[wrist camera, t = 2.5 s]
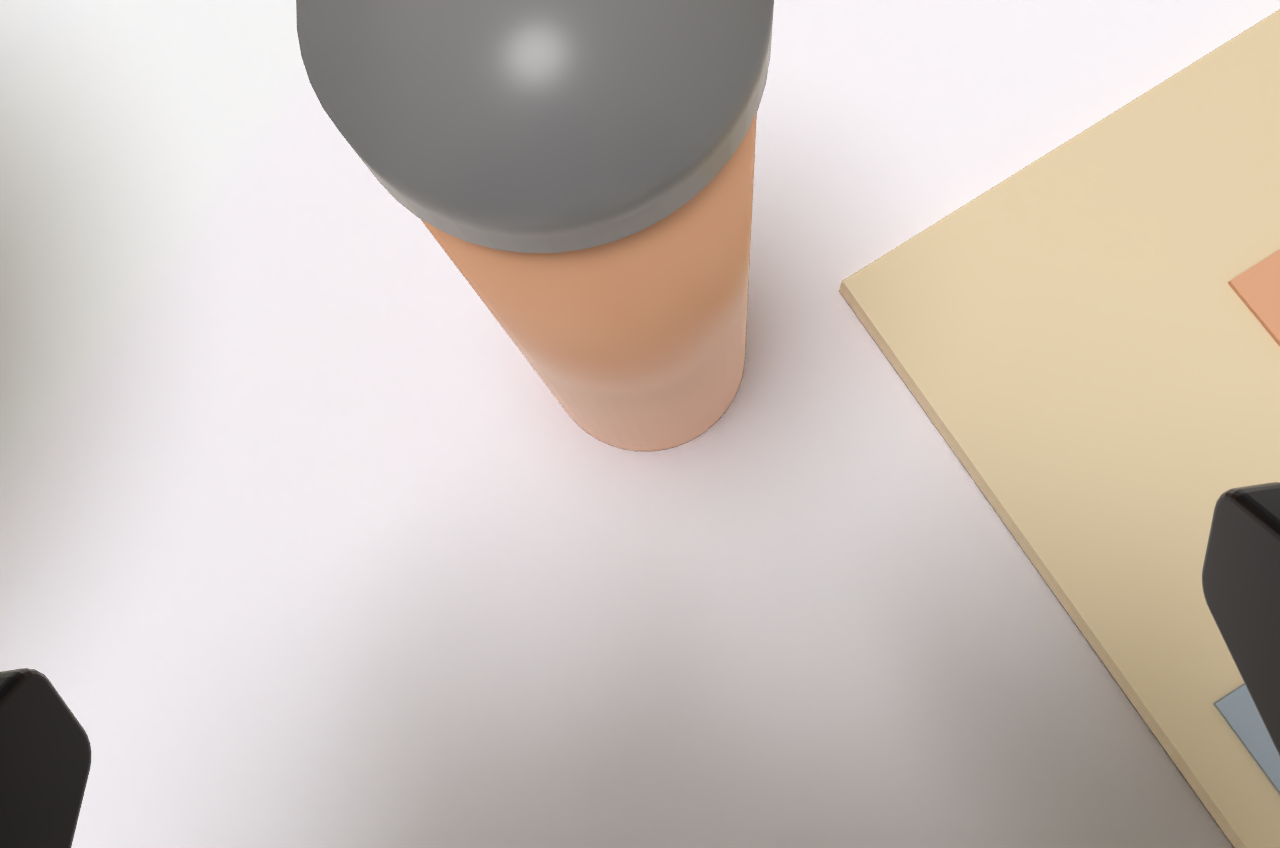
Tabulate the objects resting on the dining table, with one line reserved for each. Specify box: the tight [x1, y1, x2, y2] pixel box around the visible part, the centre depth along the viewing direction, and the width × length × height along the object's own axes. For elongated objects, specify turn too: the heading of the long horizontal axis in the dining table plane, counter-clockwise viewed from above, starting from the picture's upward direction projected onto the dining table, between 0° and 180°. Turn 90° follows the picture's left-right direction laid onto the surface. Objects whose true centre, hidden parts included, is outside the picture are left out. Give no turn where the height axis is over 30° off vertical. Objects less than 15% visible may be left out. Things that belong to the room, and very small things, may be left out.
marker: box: [296, 0, 774, 451], centre depth 14 cm, size 4×4×12 cm
